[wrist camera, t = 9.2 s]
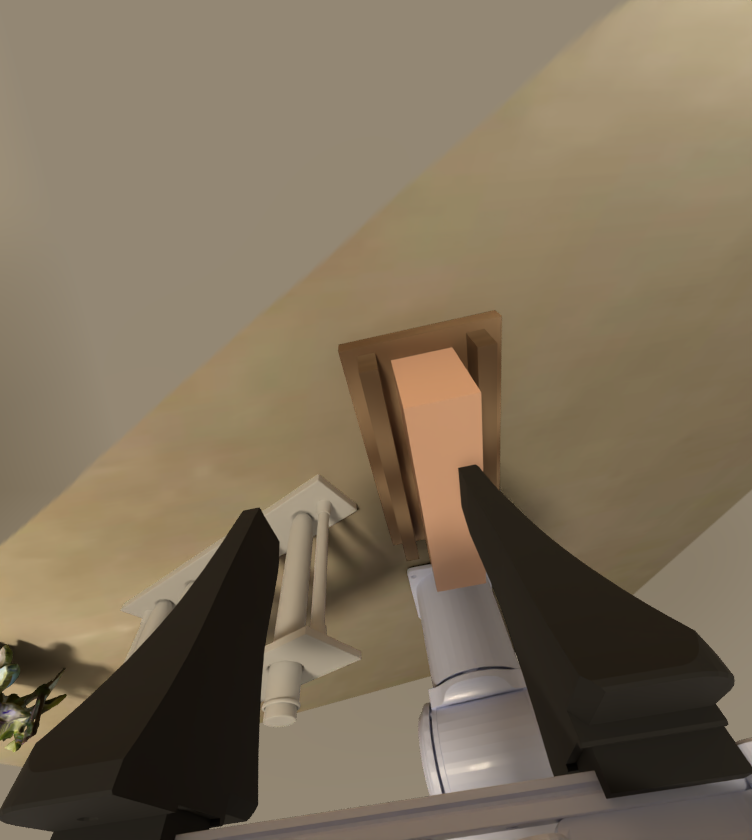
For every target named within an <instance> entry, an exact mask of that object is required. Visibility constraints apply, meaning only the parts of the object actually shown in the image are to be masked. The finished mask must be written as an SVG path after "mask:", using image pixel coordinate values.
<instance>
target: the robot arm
mask: <svg viewBox="0 0 752 840" xmlns="http://www.w3.org/2000/svg"><path fill="white" fill-rule="evenodd" d="M458 472H459V484H460V496H461V507H462V510H463V514H464V517H465V520H466V523H467V527H468V530H469V533H470V535H471V538H472V540H473V542H474V545H475V547H476V550H477V552H478V554H479V556H480V559H481V561H482V563H483V566H484V568H485V570H486V583H484V584H479V585H474V586H468V587H463V588H457V589H452V590H446V591H441V592H437V589H436V584H435V580H434V576H433V571H432V567H431V564H428V565H422V566H417V567H412V568H409V569H408V570H407V575H408V578H409V582H410V586H411V590H412V594H413V597H414V601H415V605H416V609H417V613H418V616H419V618H421V622H422V627H423V633H424V639H425V644H426V650H427V656H428V661H429V667H430V673H431V678H432V684H433V688H430V689H429V690H428V691H429V697H430V703H426V704H425V705H424V706H423V709H422V712H421V715H420V717H419V744H420V752H421V758H422V765H423V770H424V775H425V779H426V783H427V787H428V791H429V794H430V796H425V797H419V798H413V799H406V800H399V801H393V802H387V803H380V804H374V805H367V806H360V807H354V808H347V809H341V810H334V811H328V812H321V813H315V814H308V815H302V816H295V817H289V818H282V819H276V820H269V821H263V822H257V823H250V824H243V825H237V826H231V827H224V828H217V829H211V830H209V828H212V827H219V826H222V825H224V824H231V823H238V822H244V821H247V820H248V819H249V818H250V817H251V816H252V814H253V813H254V811H255V810H256V808H257V806H258V748H259V723H260V703H261V687H262V674H263V662H264V651H265V643H266V636H267V630H268V625H269V619H270V614H271V608H272V603H273V598H274V592H275V586H276V581H277V575H278V567H279V547H280V541H279V540H278V538H277V536H276V535H275V533H274V531H273V530H272V528H271V526H270V524H269V523H268V521H267V519H266V518H265V516H264V514H263V513H262V511H261V509H260V508H255V509H250V510H245V511H243V512H242V513H241V515H240V516H239V518H238V519H237V521H236V522H235V524H234V525H233V527H232V528H231V530H230V531H229V533H228V534H227V536H226V537H225V539H224V540H223V542H222V543H221V545H220V546H219V548H218V549H217V551H216V552H215V553H214V555H213V556H212V558H211V559H210V561H209V562H208V564H207V565H206V567H205V568H204V569H203V571H202V572H201V573H200V575H199V576H198V577H197V579H196V580H195V582H194V583H193V584H192V586H191V587H190V588H189V590H188V591H187V592H186V594H185V595H184V596H183V597H182V599H181V600H180V601H179V603H178V604H177V605H176V606H175V607H174V609H173V610H172V611H171V612H170V613H169V615H168V616H167V617H166V618H165V619H164V620H163V622H162V623H161V624H160V625H159V626H158V627H157V629H156V630H155V631H154V632H153V633H152V634H151V635H150V636H149V637H148V638H147V639H146V640H145V642H144V643H143V644H142V645H141V646H140V647H139V648H138V649H137V650H136V651H135V652H134V653H133V654H132V655H131V656H130V657H129V659H128V660H127V661H126V662H125V663H124V664H123V665H122V666H121V667H120V668H119V669H118V670H117V671H116V672H115V673H114V674H113V675H112V676H111V677H110V678H108V679H107V680H106V681H105V682H104V683H103V684H102V685H101V686H100V687H99V688H98V689H97V690H96V691H95V692H94V693H93V694H92V695H91V696H89V697H88V698H87V699H86V700H85V701H84V702H83V703H82V704H81V705H80V706H79V707H77V708H76V709H75V710H74V711H73V712H72V713H70V714H69V715H68V716H67V717H66V718H65V719H64V720H62V721H61V722H60V723H59V724H58V725H57V726H56V727H54V728H53V729H52V730H51V731H50V732H49V733H48V734H46V735H45V736H44V737H43V738H42V739H41V740H39V741H38V742H37V743H36V744H35V746H34V747H33V749H32V751H31V753H30V755H29V757H28V759H27V760H26V762H25V764H24V766H23V768H22V770H21V771H20V773H19V775H18V777H17V779H16V781H15V783H14V784H13V786H12V788H11V790H10V792H9V794H8V796H7V797H6V799H5V801H4V803H3V805H2V807H1V808H0V821H2V822H4V823H7V824H11V825H15V826H21V827H28V828H33V829H40V830H46V831H52V832H53V834H52V837H51V839H50V840H752V737H751V738H747V739H743V740H740V741H737V742H735V741H734V740H733V738H732V737H731V736H730V734H729V733H728V731H727V730H726V728H725V727H724V726H727V725H728V721H727V719H726V718H725V716H724V715H723V714H722V712H721V711H720V709H719V708H718V706H717V705H716V703H717V702H718V701H719V700H720V699H721V698H722V697H723V696H725V695H726V694H727V693H728V692H729V691H730V690H731V689H732V687H733V686H734V676H733V674H732V673H731V672H730V670H729V669H728V668H727V667H726V665H725V664H724V663H723V662H722V660H721V659H720V658H719V656H718V655H717V654H716V653H715V652H714V651H713V650H712V649H711V648H710V647H709V645H708V644H707V643H706V642H705V641H704V640H703V639H702V638H701V637H700V636H699V635H698V634H697V632H696V631H694V630H693V629H691V628H689V627H687V626H685V625H683V624H682V623H680V622H678V621H676V620H674V619H672V618H671V617H669V616H667V615H665V614H663V613H662V612H660V611H658V610H656V609H655V608H653V607H651V606H650V605H648V604H646V603H645V602H643V601H641V600H639V599H638V598H636V597H634V596H633V595H631V594H630V593H628V592H626V591H625V590H623V589H621V588H620V587H618V586H617V585H615V584H614V583H612V582H611V581H609V580H608V579H606V578H605V577H603V576H602V575H600V574H599V573H597V572H596V571H594V570H593V569H591V568H590V567H588V566H587V565H585V564H584V563H583V562H581V561H580V560H579V559H577V558H576V557H574V556H573V555H572V554H570V553H569V552H568V551H566V550H565V549H564V548H563V547H561V546H560V545H559V544H557V543H556V542H555V541H554V540H552V539H551V538H550V537H549V536H548V535H546V534H545V533H544V532H543V531H542V530H540V529H539V528H538V527H537V526H536V525H535V524H534V523H533V522H531V521H530V520H529V519H528V518H527V517H526V516H525V515H524V514H523V513H522V512H521V511H519V510H518V509H517V508H516V507H515V506H514V505H513V504H512V503H511V502H510V501H509V500H508V499H507V498H506V497H505V496H504V495H503V494H502V493H501V491H500V490H499V489H498V488H497V487H496V486H495V485H494V484H493V483H492V482H491V481H490V479H489V478H488V477H487V476H486V475H485V473H484V472H483V471H482V470H481V469H480V467H479V466H477V465H476V464H475V465H470V466H465V467H460V468H458ZM492 587H493V589H494V591H495V594H496V596H497V599H498V601H499V604H500V606H501V609H502V612H503V615H504V618H505V621H506V624H507V627H508V630H509V634H510V637H511V640H512V643H513V646H514V649H515V652H516V655H517V658H518V661H519V663H518V661H517V658H516V655H515V652H514V650H513V647H512V644H511V641H510V638H509V636H508V633H507V630H506V627H505V625H504V622H503V619H502V616H501V614H500V611H499V608H498V605H497V602H496V600H495V597H494V594H493V591H492ZM519 665H520V666H519Z"/></svg>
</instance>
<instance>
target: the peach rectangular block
mask: <svg viewBox="0 0 752 840" xmlns="http://www.w3.org/2000/svg"><path fill="white" fill-rule="evenodd" d="M391 364H392V369H393V374H394V380H395V385H396V390H397V395H398V401H399V406H400V411H401V416H402V421H403V427H404V432H405V437H406V442H407V448H408V453H409V458H410V463H411V469H412V474H413V479H414V484H415V490H416V495H417V500H418V505H419V511H420V516H421V521H422V526H423V531H424V536H425V541H426V545H427V549H428V554H429V558H430V563H431V567H432V571H433V576H434V580H435V584H436V589H437V592H441V591H446V590H452V589H457V588H463V587H468V586H474V585H479V584H484V583H486V570H485V568H484V566H483V563H482V561H481V559H480V556H479V554H478V552H477V550H476V547H475V545H474V542H473V540H472V538H471V535H470V533H469V530H468V527H467V523H466V520H465V517H464V514H463V510H462V507H461V496H460V484H459V472H458V468H460V467H465V466H470V465H475V464H476V465H477V466H479V467H480V469H481V470H482V471H483V441H482V403H481V391H480V390H479V388H478V387H477V385H476V383H475V382H474V380H473V379H472V377H471V376H470V374H469V373H468V371H467V369H466V368H465V366H464V365H463V363H462V362H461V360H460V359H459V357H458V355H457V354H456V352H455V351H454V349H453V348H452V347H451V348H446V349H441V350H437V351H432V352H428V353H423V354H418V355H414V356H409V357H405V358H400V359H395V360H391Z"/></svg>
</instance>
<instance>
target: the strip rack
mask: <svg viewBox="0 0 752 840" xmlns="http://www.w3.org/2000/svg"><path fill="white" fill-rule="evenodd" d="M501 328H502V316H501V315H500V314H499V313H497V312H496V311H495V310H494V311H490V312H485V313H481V314H476V315H472V316H467V317H462V318H458V319H453V320H449V321H444V322H440V323H435V324H431V325H426V326H422V327H417V328H413V329H408V330H404V331H399V332H395V333H390V334H386V335H381V336H376V337H372V338H367V339H363V340H358V341H354V342H349V343H345V344H340V345H339V349H338V352H339V356H340V359H341V363H342V366H343V370H344V374H345V377H346V381H347V384H348V388H349V391H350V395H351V398H352V402H353V405H354V409H355V412H356V416H357V419H358V423H359V427H360V430H361V434H362V437H363V441H364V444H365V448H366V451H367V455H368V458H369V462H370V465H371V469H372V472H373V476H374V480H375V483H376V487H377V490H378V494H379V497H380V501H381V504H382V508H383V511H384V515H385V518H386V522H387V525H388V529H389V533H390V536H391V540H392V543H393V545H398V544H403V548H404V552H405V556H406V560H407V561H411V560H416V559H419V555H418V550H417V545H416V541H419V540H424V539H425V536H424V531H423V526H422V521H421V516H420V511H419V505H418V500H417V495H416V490H415V484H414V479H413V474H412V469H411V463H410V458H409V453H408V448H407V442H406V437H405V432H404V427H403V421H402V416H401V411H400V406H399V401H398V395H397V390H396V385H395V380H394V374H393V369H392V364H391V360H395V359H400V358H405V357H409V356H414V355H418V354H423V353H428V352H432V351H437V350H441V349H446V348H451V347H452V348H453V349H454V351H455V352H456V354H457V355H458V357H459V359H460V360H461V362H462V363H463V365H464V366H465V368H466V369H467V371H468V373H469V374H470V376H471V377H472V379H473V380H474V382H475V383H476V385H477V387H478V388H479V390H480V391H481V403H482V441H483V472H484V473H485V475H486V476H487V477H488V478H489V479H490V481H491V482H492V483H493V484H494V485H495V486H496V487H497V488H498V489H499V490H500V410H501Z"/></svg>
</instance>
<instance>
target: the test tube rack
mask: <svg viewBox="0 0 752 840" xmlns="http://www.w3.org/2000/svg"><path fill="white" fill-rule="evenodd" d="M355 511H357V504H356V503H355V502H354V501H352V500H351V499H350V498H349V497H347V496H346V495H345V494H344V493H342V492H341V491H340V490H338V489H337V488H336V487H335V486H333V485H332V484H331V483H330V482H328V481H327V480H326V479H325V478H323V477H322V476H321V475H319V474H318V475H316V476H315V477H313V478H311V479H310V480H308V481H307V482H305V483H304V484H302V485H301V486H299V487H298V488H296V489H295V490H293V491H292V492H290V493H289V494H287V495H286V496H284V497H283V498H281V499H280V500H278V501H277V502H275V503H274V504H272V505H271V506H269V507H268V508H266V509H265V510H263V511H262V513H263V514H264V516H265V518H266V519H267V521H268V523H269V524H270V526H271V528H272V530H273V531H274V533H275V535H276V536H277V538H278V540H279V541H280V547H279V557H280V556H281V555H283V554H285V553H286V552H287V553H286V560H285V567H284V573H283V580H282V587H281V594H280V600H279V607H278V614H277V620H276V627H275V634H274V641H273V642H272V643H270V644H268V645H266V646H265V651H264V662H263V674H262V687H261V702H262V701H265V702H264V704H263V706H262V710H263V711H264V712H265V713H264V718H263V724H265V725H266V726H270V727H283V726H288V725H291V724H293V723H295V721H296V715H297V710H298V709H299V708H300V702H299V697H300V686H301V685H302V684H304V683H307V682H309V681H311V680H314V679H316V678H318V677H321V676H323V675H325V674H328V673H330V672H333V671H335V670H337V669H340V668H342V667H344V666H347V665H349V664H351V663H353V662H356V661H358V660H360V659H361V651H359V650H357V649H355V648H353V647H351V646H349V645H346V644H344V643H342V642H340V641H338V640H336V639H334V638H332V637H329V636H327V630H326V625H325V606H326V581H327V556H328V531H329V527H330V526H332V525H334V524H335V523H337V522H339V521H340V520H342V519H344V518H345V517H347V516H349V515H350V514H352V513H354V512H355ZM315 535H317V540H316V553H315V567H314V581H313V595H312V609H311V623H310V626H309V627H308V626H306V614H307V602H308V590H309V578H310V566H311V554H312V541H313V536H315ZM226 536H227V535H226ZM226 536H224V537H223V538H221V539H220V540H218V541H217V542H215V543H214V544H212V545H211V546H209V547H208V548H206V549H205V550H203V551H202V552H200V553H199V554H197V555H196V556H194V557H193V558H191V559H190V560H188V561H187V562H185V563H184V564H182V565H181V566H179V567H178V568H176V569H175V570H173V571H172V572H170V573H169V574H167V575H165V576H164V577H162V578H161V579H159V580H158V581H156V582H155V583H153V584H152V585H150V586H149V587H147V588H146V589H144V590H143V591H141V592H140V593H138V594H137V595H135V596H134V597H132V598H131V599H129V600H128V601H126V602H125V603H124V604H123V606H122V608H121V611H123V612H126V613H129V614H131V615H134V616H137V617H140V618H142V620H141V623H140V624H141V626H140V628H139V630H138V632H137V634H136V637H135V639H134V641H133V643H132V646H131V648H130V650H129V652H128V654H127V657H126V659H125V661H124V663H125V662H126V661H127V660H128V659H129V657H130V656H131V655H132V654H133V653H134V652H135V651H136V650H137V649H138V648H139V647H140V646H141V645H142V644H143V643H144V642H145V640H146V639H147V638H148V637H149V636H150V635H151V634H152V633H153V632H154V631H155V630H156V629H157V627H158V626H159V625H160V624H161V623H162V622H163V620H164V619H165V618H166V617H167V616H168V615H169V613H170V612H171V611H172V610H173V609H174V607H175V606H176V605H177V604H178V603H179V601H180V600H181V599H182V597H183V596H184V595H185V594H186V592H187V591H188V590H189V588H190V587H191V586H192V584H193V583H194V582H195V580H196V579H197V577H198V576H199V575H200V573H201V572H202V571H203V569H204V568H205V567H206V565H207V564H208V562H209V561H210V559H211V558H212V556H213V555H214V553H215V552H216V551H217V549H218V548H219V546H220V545H221V543H222V542H223V540H224V539H225V537H226ZM124 663H123V664H124ZM269 665H270V666H269ZM302 665H303V666H302Z"/></svg>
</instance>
